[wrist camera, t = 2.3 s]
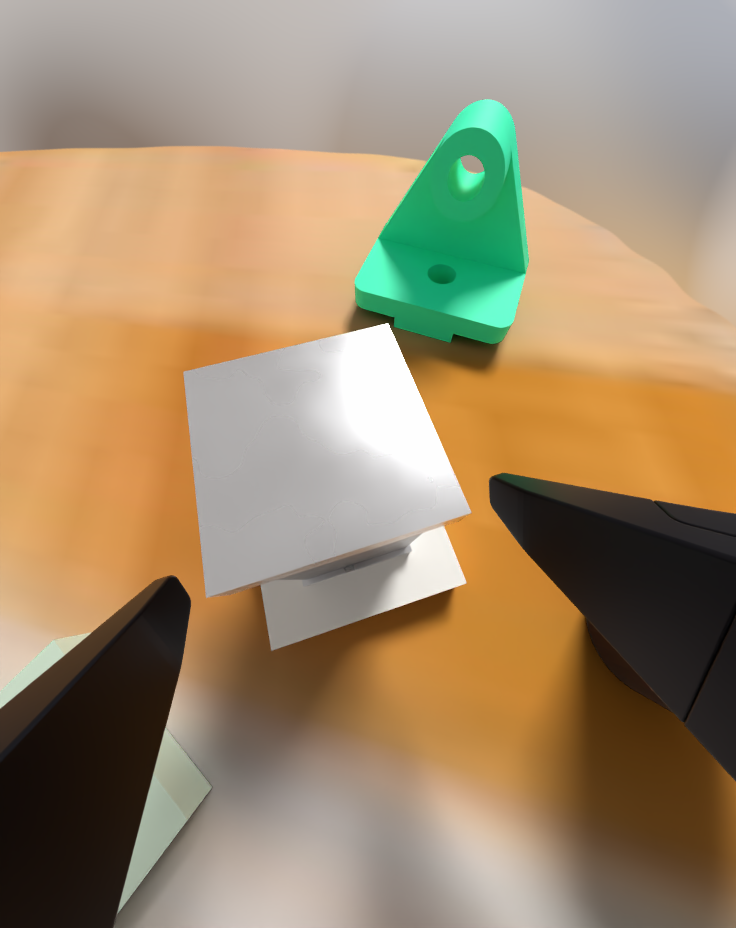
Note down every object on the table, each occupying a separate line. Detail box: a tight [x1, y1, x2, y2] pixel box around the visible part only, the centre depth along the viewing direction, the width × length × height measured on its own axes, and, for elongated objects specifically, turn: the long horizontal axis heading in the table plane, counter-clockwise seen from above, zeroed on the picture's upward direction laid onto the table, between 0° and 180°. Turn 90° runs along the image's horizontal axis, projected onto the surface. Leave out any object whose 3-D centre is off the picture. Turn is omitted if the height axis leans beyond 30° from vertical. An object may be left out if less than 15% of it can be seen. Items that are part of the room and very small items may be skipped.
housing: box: [184, 323, 471, 598], centre depth 12 cm, size 6×6×10 cm
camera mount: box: [355, 100, 529, 344], centre depth 20 cm, size 12×8×10 cm, turn 70°
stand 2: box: [261, 526, 466, 651], centre depth 17 cm, size 10×10×2 cm
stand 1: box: [0, 633, 212, 914], centre depth 12 cm, size 10×10×2 cm
